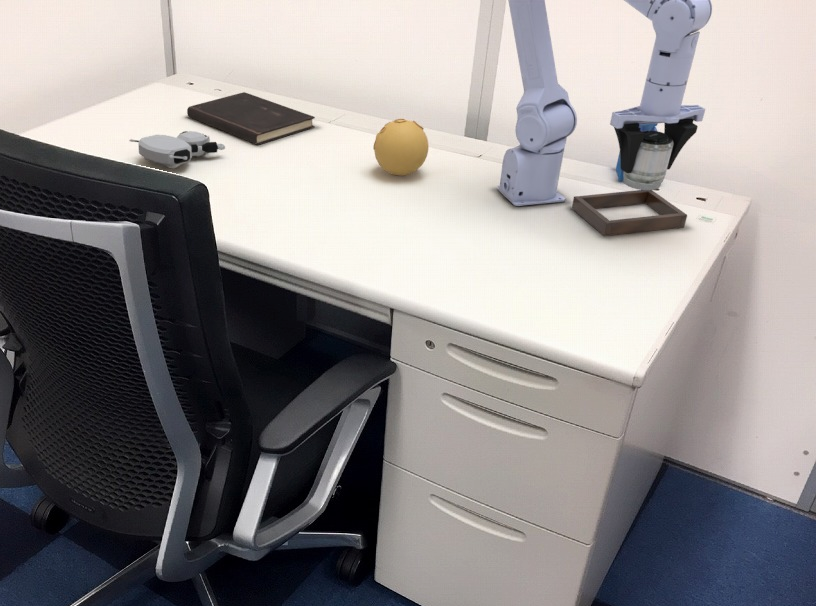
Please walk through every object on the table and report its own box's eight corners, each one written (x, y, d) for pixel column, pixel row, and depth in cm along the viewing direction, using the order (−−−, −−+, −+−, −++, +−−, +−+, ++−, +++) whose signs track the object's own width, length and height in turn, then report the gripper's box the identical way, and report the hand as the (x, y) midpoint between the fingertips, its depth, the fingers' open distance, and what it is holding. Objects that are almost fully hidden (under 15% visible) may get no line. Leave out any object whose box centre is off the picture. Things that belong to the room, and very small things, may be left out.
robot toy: (188, 146, 172) (127, 160, 162) (188, 123, 169) (126, 136, 160) (229, 161, 165) (168, 177, 155) (229, 138, 162) (167, 153, 153)
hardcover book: (244, 102, 192) (244, 91, 191) (314, 127, 178) (314, 116, 177) (187, 117, 183) (186, 107, 182) (256, 145, 170) (256, 134, 168)
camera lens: (612, 182, 135) (623, 133, 131) (636, 173, 138) (648, 125, 134) (646, 194, 131) (659, 144, 127) (670, 185, 134) (683, 136, 130)
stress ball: (437, 176, 157) (442, 122, 151) (394, 188, 153) (398, 133, 147) (403, 159, 164) (407, 107, 158) (362, 170, 159) (364, 117, 154)
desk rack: (603, 236, 137) (606, 223, 136) (571, 208, 146) (573, 196, 144) (684, 227, 140) (687, 214, 138) (647, 200, 148) (650, 188, 147)
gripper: (637, 91, 121) (616, 182, 129) (726, 84, 124) (701, 174, 132) (611, 77, 126) (593, 165, 134) (697, 71, 129) (674, 158, 137)
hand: (644, 169), depth 133 cm, fingers closed on camera lens, 6 cm apart
